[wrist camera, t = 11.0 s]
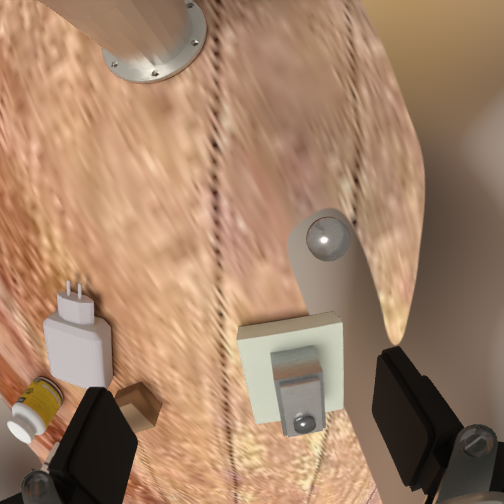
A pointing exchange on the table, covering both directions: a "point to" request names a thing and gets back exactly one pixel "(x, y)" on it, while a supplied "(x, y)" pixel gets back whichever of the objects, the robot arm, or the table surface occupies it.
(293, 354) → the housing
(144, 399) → the walnut block
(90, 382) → the charger
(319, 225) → the grey disc
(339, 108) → the table surface
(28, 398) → the pill bottle
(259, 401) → the stand
